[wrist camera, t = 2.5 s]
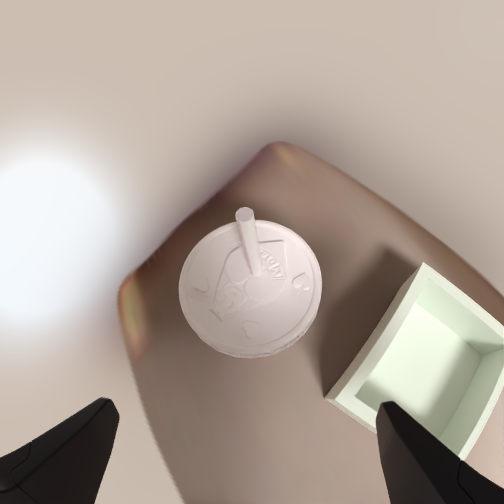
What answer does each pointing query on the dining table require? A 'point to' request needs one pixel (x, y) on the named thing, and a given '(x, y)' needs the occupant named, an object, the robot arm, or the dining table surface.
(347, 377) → the bin
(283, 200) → the dining table surface
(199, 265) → the smoothie
